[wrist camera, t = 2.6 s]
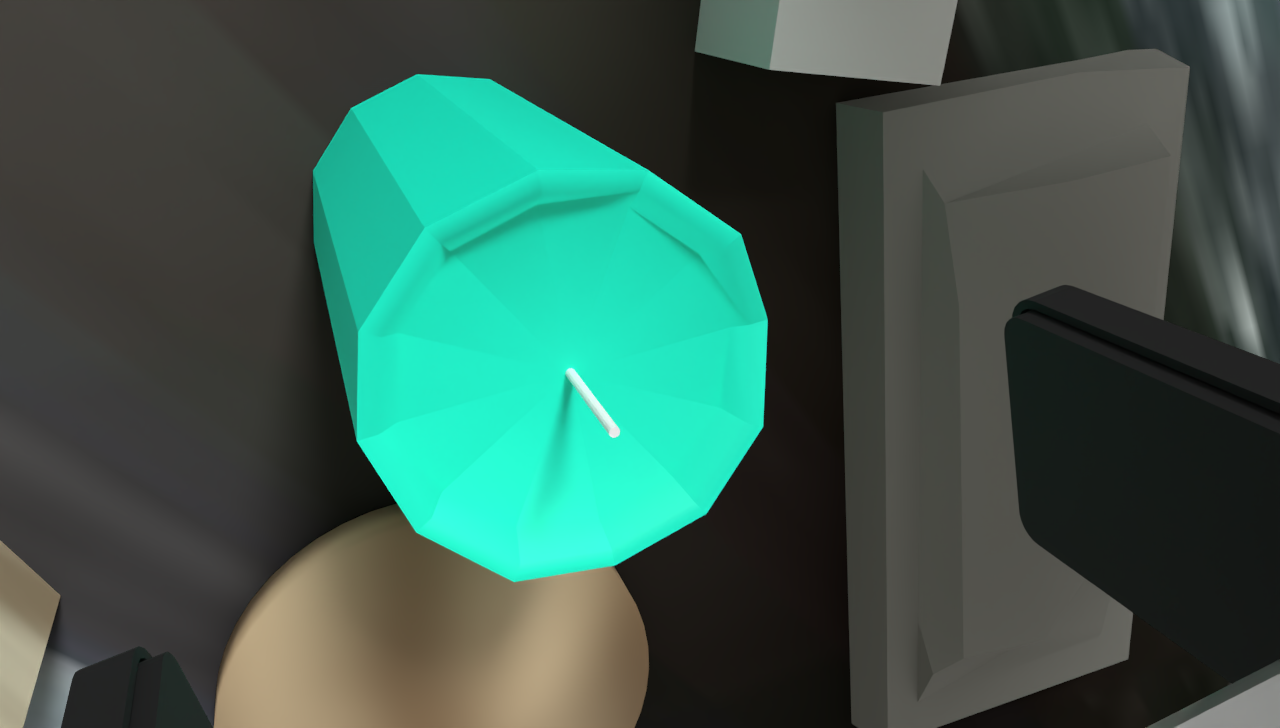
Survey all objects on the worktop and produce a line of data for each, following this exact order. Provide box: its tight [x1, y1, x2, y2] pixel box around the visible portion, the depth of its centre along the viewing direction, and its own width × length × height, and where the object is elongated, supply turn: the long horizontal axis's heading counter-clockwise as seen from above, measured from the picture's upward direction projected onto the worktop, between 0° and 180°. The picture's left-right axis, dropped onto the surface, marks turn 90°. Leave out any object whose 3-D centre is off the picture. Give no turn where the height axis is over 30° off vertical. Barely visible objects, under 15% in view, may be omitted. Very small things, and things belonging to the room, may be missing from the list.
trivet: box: [214, 503, 649, 728], centre depth 27 cm, size 11×11×1 cm
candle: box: [313, 74, 768, 582], centre depth 18 cm, size 6×6×12 cm
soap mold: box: [836, 49, 1190, 728], centre depth 30 cm, size 10×20×4 cm, turn 6°
